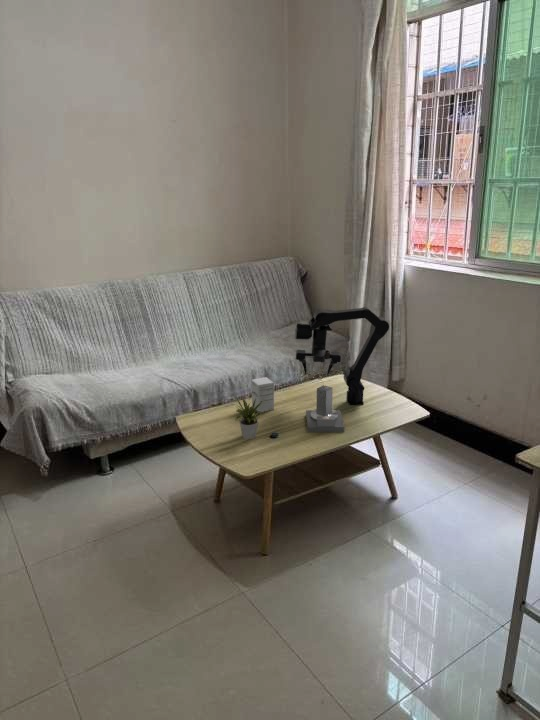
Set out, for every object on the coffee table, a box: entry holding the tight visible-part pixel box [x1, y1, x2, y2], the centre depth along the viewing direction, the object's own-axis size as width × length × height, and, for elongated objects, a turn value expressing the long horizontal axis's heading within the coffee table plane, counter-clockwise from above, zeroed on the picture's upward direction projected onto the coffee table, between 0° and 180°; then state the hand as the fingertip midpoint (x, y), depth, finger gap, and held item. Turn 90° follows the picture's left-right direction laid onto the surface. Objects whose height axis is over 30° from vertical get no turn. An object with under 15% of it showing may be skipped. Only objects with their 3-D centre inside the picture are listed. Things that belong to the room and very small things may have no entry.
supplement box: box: [251, 376, 275, 413], centre depth 236 cm, size 7×7×13 cm
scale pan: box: [311, 408, 338, 421], centre depth 225 cm, size 11×11×1 cm
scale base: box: [305, 409, 345, 433], centre depth 223 cm, size 14×16×5 cm
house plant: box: [230, 396, 265, 440], centre depth 211 cm, size 14×14×16 cm
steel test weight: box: [315, 384, 334, 416], centre depth 223 cm, size 4×4×11 cm
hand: (316, 374), depth 238 cm, fingers open, 9 cm apart
